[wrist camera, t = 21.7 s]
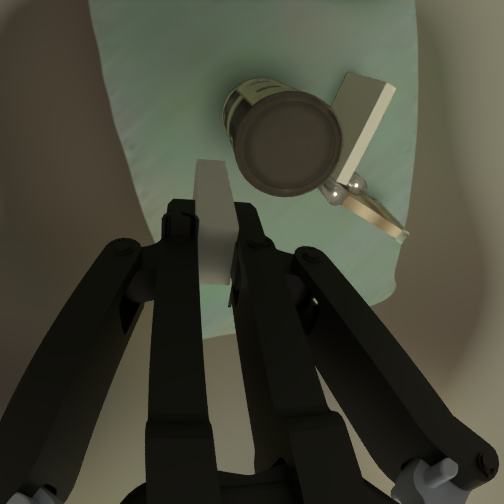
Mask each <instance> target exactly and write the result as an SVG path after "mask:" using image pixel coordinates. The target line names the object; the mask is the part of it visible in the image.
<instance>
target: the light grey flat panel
mask: <svg viewBox="0 0 504 504" xmlns="http://www.w3.org/2000/svg"><path fill="white" fill-rule="evenodd" d="M395 91H396V88H395V87H393V86H392V85H390V84H389V83H387V82H384V81H381V80H377V79H373V78H370V77H366V76H362V75H358V74H353V73H349V72H347V75H346V77H345V79H344V81H343V83H342V85H341V87H340V89H339V91H338V93H337V95H336V97H335V99H334V101H333V104H332V106H331V108H332V109H333V111H334V112H335V114H336V115H337V117H338V119H339V121H340V123H341V126H342V130H343V137H344V145H343V151H342V155H341V159H340V161H339V163H338V165H337V167H336V169H335V171H334V172H333V173H332V175H331V176H332V177H333V178H334V179H335V180H336V181H337V182H339V183H342V184H344V185H347V184H348V182H349V180H350V178H351V176H352V174H353V172H354V171H355V169H356V167H357V165H358V163H359V161H360V159H361V157H362V156H363V154H364V152H365V150H366V148H367V146H368V144H369V142H370V140H371V138H372V136H373V134H374V132H375V131H376V129H377V127H378V125H379V123H380V121H381V119H382V117H383V115H384V113H385V111H386V109H387V107H388V105H389V103H390V101H391V99H392V97H393V95H394V93H395Z"/></svg>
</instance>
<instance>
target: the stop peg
mask: <svg viewBox="0 0 504 504" xmlns="http://www.w3.org/2000/svg"><path fill="white" fill-rule="evenodd" d="M343 185H344V184H343ZM344 186H345V187H346V188H347V189H348V190H349V191H350V192H351V194H353V195H355V196H359V195H361V194H363V193H364V192H365V190H366V187H367V184H366V182H365V180H364V179H362V178H361V177H360V176H359V175H358V174H357V173H356V172H355V171H354V172H353V174H352V176H351V178H350V180H349V182H348V184H347V185H344Z"/></svg>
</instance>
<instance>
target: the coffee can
mask: <svg viewBox="0 0 504 504" xmlns="http://www.w3.org/2000/svg"><path fill="white" fill-rule="evenodd" d="M222 122H223V126H224V129H225V131H226V133H227V135H228V137H229V140H230V142H231V145H232V148H233V150H234V153H235V158H236V162H237V165H238V167H239V170H240V171H241V173H242V175H243V176H244V178H245V179H246V180H247V181H248V182H249V183H250V184H251V185H252V186H254V187H255V188H256V189H258V190H260V191H262V192H264V193H266V194H269V195H272V196H278V197H293V196H299V195H302V194H305V193H308V192H310V191H312V190H314V189H316V188H317V187H319V186H320V185H322V184H323V183H324V182H325V181H326V180H327V179H328V178H329V177H330V176H331V175H332V173H333V172H334V171H335V169H336V167H337V165H338V163H339V161H340V159H341V155H342V151H343V145H344V137H343V130H342V126H341V123H340V121H339V119H338V117H337V115H336V114H335V112H334V111H333V109H332V108H331V107H330V106H329V105H328V104H326V103H325V102H324V101H323V100H321V99H319V98H318V97H316V96H314V95H311V94H308V93H305V92H301V91H299V90H296V89H294V88H291V87H289V86H287V85H284V84H282V83H280V82H278V81H276V80H273V79H269V78H256V79H251V80H248V81H246V82H244V83H242V84H240V85H239V86H237V87H236V88H235V89H234V90H233V91H232V92H231V93H230V94H229V96H228V97H227V99H226V101H225V103H224V106H223V111H222Z"/></svg>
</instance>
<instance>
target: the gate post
mask: <svg viewBox="0 0 504 504" xmlns="http://www.w3.org/2000/svg"><path fill="white" fill-rule="evenodd" d="M317 188H318V189H319V190H320V192H321V193H322V194H323V196H324V197H325V198H326V199H327V201H328V202H329V203H330V204H331V205H340V204H341V203H343V202H344V201H345V199H346V195H347V194H346V191H345V189H344V188H343V187H342V186H341V185H340V184H339V183H338V182H337V181H336V180H335V179H334V178H333V177H332V176H330V177H329V178H328V179H327V180H326V181H325V182H324V183H323V184H322V185H320V186H319V187H317Z"/></svg>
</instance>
